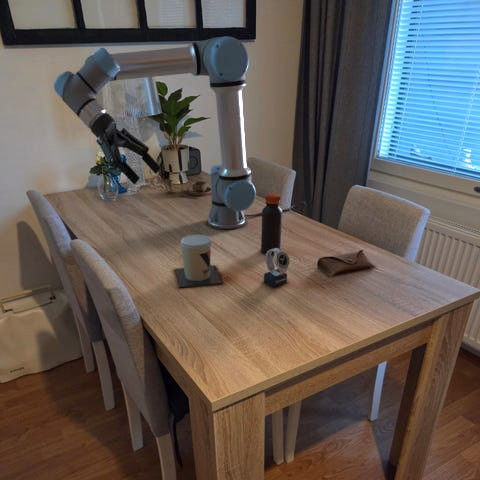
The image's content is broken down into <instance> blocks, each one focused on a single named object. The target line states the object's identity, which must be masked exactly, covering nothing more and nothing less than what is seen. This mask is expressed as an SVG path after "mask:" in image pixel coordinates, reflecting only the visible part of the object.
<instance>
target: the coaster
mask: <svg viewBox="0 0 480 480" xmlns="http://www.w3.org/2000/svg"><path fill="white" fill-rule="evenodd" d="M175 275H176V279H177V284H178V288H179V289H185V288H186V289H187V288H196V287H197V288H198V287H205V286H207V287H208V286H218V285H222V281H221V278H220V275H219V273H218V270H217V267H216V265H214V264H213V265H210V276H209V277H208V278H207V279H205V280H201V281H192V280H189V279H187V278H186V276H185V271H184V267H180V268H175Z"/></svg>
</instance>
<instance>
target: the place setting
mask: <svg viewBox="0 0 480 480" xmlns="http://www.w3.org/2000/svg"><path fill="white" fill-rule="evenodd" d="M166 182H167V186H168V187H169V191H167V193H168V194H174V193H175V192H174V191H173V189H172V186H173V184H174V182H173V179H167V181H166ZM187 193H188V195H189V196H188V195H184V194H182V193H179V195H180V196H182V197H187V198H191V199H195V196H196V197H204V196H207V195H211V187H208V186H207V182H205V181H193V182H192V184H191V187H189V188H187ZM190 195H191V196H190Z"/></svg>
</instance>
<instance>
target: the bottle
mask: <svg viewBox="0 0 480 480" xmlns="http://www.w3.org/2000/svg"><path fill="white" fill-rule="evenodd" d="M264 200H265V206H264V207H263V208H262V211H261V213H262V215H261V237H260V238H261V239H260V251H261V253H262V254H264V255H266V253H267V251H268V250H271V249H274V248H279V249H281V241H282V224H283V223H282V222H283V212H282V210H283V209H282V208H281V207H280V204H281V194H278V193H267V194H265V199H264ZM274 253H275V252H274V251H272V254H271V256H274Z"/></svg>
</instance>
